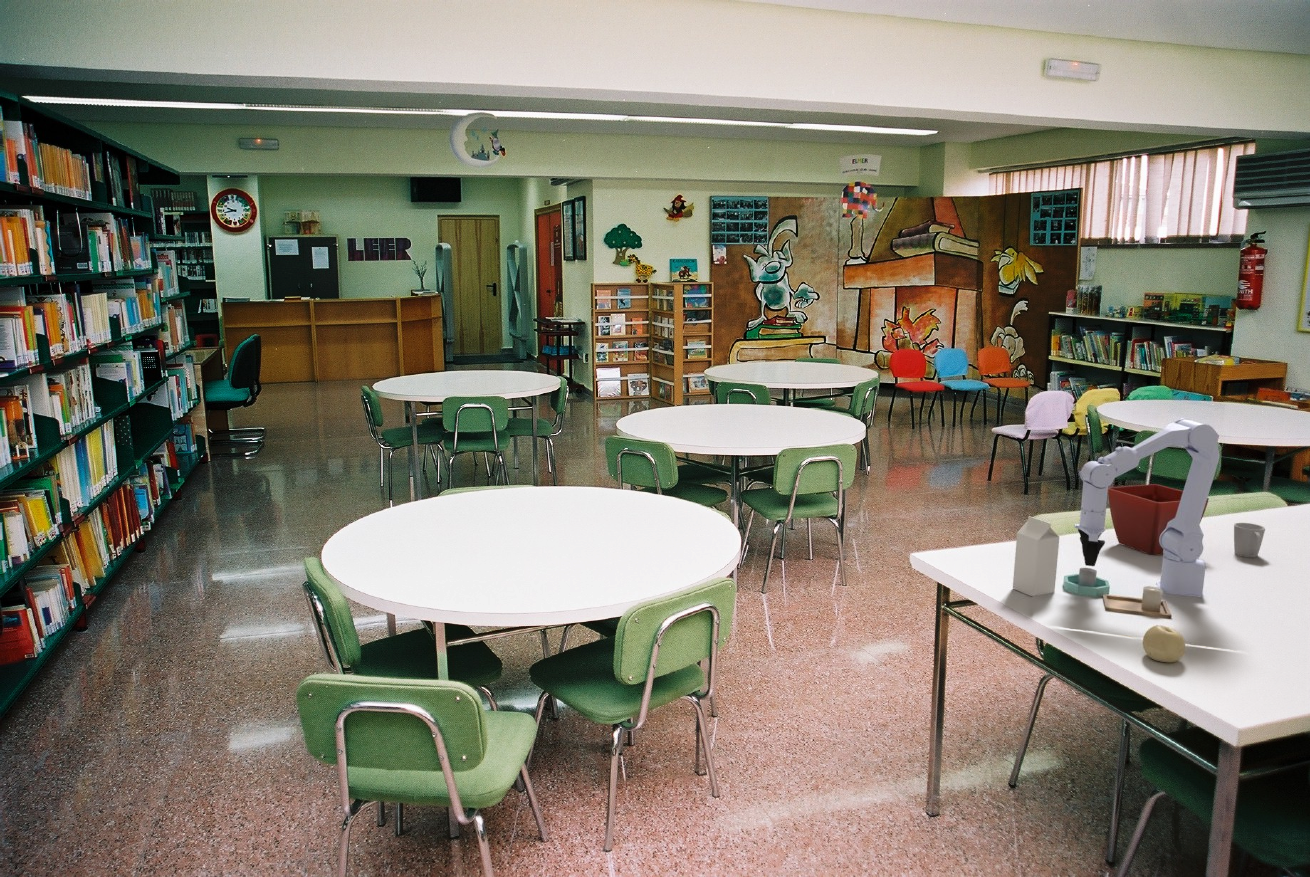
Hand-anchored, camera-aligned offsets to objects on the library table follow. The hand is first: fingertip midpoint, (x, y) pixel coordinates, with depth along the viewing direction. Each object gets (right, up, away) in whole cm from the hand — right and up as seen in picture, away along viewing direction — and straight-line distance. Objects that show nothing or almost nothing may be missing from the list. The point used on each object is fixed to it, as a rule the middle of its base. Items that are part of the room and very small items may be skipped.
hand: (1088, 561), depth 236 cm
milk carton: (-14, -8, +1) cm, 16 cm away
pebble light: (+9, -10, -12) cm, 18 cm away
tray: (+6, -10, -11) cm, 16 cm away
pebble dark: (0, -7, +1) cm, 7 cm away
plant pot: (+36, -1, +38) cm, 52 cm away
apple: (-3, -16, -39) cm, 42 cm away
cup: (+60, -3, +31) cm, 68 cm away
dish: (0, -8, +2) cm, 8 cm away
